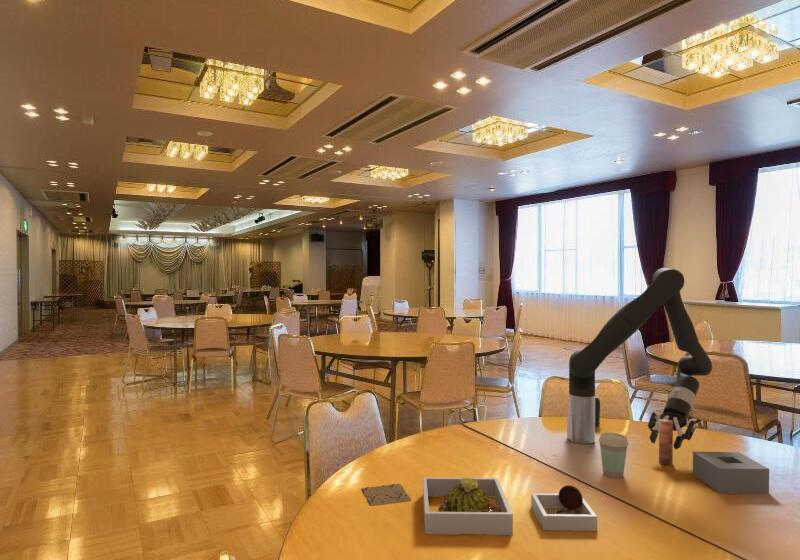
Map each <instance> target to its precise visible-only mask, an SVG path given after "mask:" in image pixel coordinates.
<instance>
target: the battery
mask: <svg viewBox="0 0 800 560" xmlns="http://www.w3.org/2000/svg"><path fill="white" fill-rule="evenodd" d="M600 416H601V400H600V398H599V397H597V396H595V426H599V425H600V418H601V417H600Z"/></svg>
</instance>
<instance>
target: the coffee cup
mask: <svg viewBox="0 0 800 560" xmlns="http://www.w3.org/2000/svg"><path fill="white" fill-rule="evenodd" d="M598 442H599V449H600V456H601V457H600V458H601V466H602V474H603V475H604V476H605V477H608V478H613V479H621V478H623V477H624V473H625V465H626V458H627V450H628V446H629V441H628V439H627V437H626V436H625V435H623V434H621V433H617V432H603V433H601V434H600V436H599V438H598Z"/></svg>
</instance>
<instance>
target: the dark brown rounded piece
mask: <svg viewBox="0 0 800 560" xmlns="http://www.w3.org/2000/svg"><path fill="white" fill-rule="evenodd" d="M558 494H559V501H560V503H561V504H562V505H563V507H565V508H558V509H557V510H555V511H553V513H552V514H576V513H575V512H574V511H576V510H578V509H579V508H580V507H581V505H582V503H583V498H584V497H583V495H582V493H581V491H580V490H579V488H577V487H576V486H574V485H572V484H571V485H569V484H568V485H564V486H562V487H561V489H560V490H559V492H558ZM582 497H583V498H582Z"/></svg>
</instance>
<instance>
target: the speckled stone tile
mask: <svg viewBox="0 0 800 560" xmlns="http://www.w3.org/2000/svg"><path fill="white" fill-rule="evenodd" d="M361 491H362V493H363V495H364V498H365V499H366V501H367V503H368V505H369V506H370V507H375V506H384V505H391V504H396V503H397V504H398V503H407V502H412V499H411V497H410V495H409V494H408V493H407V492H406V490H405V488H404V486H403V485H402V484H401V483H392V484H386V485H378V486H370V487H369V486H367V487H362V488H361Z"/></svg>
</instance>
